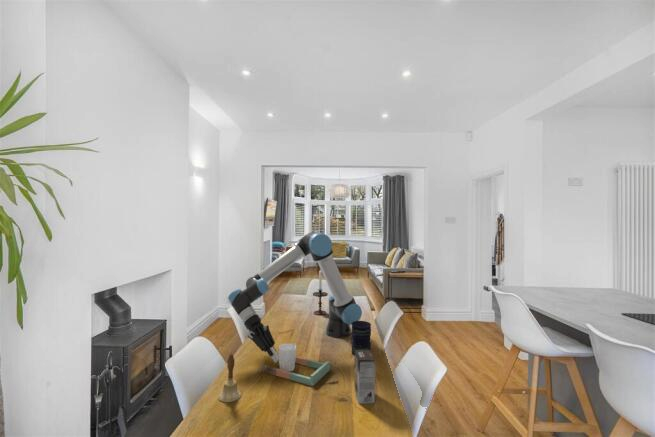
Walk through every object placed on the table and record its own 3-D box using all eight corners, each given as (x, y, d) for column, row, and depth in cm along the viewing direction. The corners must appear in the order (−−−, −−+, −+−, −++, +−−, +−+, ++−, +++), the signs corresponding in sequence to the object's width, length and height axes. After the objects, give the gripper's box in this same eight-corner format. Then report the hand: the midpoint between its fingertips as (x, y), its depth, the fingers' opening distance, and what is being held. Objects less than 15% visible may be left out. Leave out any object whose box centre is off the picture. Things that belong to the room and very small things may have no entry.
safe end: (289, 379, 131) (289, 370, 131) (308, 364, 145) (308, 356, 145) (312, 386, 126) (312, 376, 126) (329, 370, 140) (329, 361, 140)
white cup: (281, 374, 135) (282, 351, 135) (275, 366, 142) (276, 344, 142) (298, 370, 139) (298, 348, 139) (291, 363, 146) (292, 342, 146)
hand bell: (242, 389, 123) (242, 349, 123) (240, 401, 115) (240, 358, 115) (220, 391, 121) (220, 350, 122) (216, 403, 113) (217, 359, 113)
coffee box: (353, 390, 123) (354, 349, 123) (369, 390, 123) (370, 349, 124) (358, 404, 114) (358, 359, 114) (375, 403, 114) (375, 359, 115)
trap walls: (276, 375, 134) (276, 369, 134) (295, 361, 148) (295, 356, 148) (289, 379, 131) (289, 373, 131) (308, 364, 145) (308, 359, 145)
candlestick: (325, 316, 219) (326, 266, 220) (310, 315, 222) (311, 265, 222) (328, 311, 230) (329, 264, 230) (314, 310, 232) (315, 263, 233)
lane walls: (261, 371, 138) (261, 365, 138) (281, 358, 152) (281, 352, 152) (276, 375, 134) (276, 369, 134) (295, 361, 148) (295, 356, 148)
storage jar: (359, 347, 165) (360, 319, 165) (374, 353, 158) (375, 323, 158) (347, 353, 158) (347, 323, 158) (362, 359, 151) (362, 328, 151)
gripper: (254, 319, 157) (281, 359, 149) (236, 327, 145) (263, 371, 137) (263, 310, 154) (290, 351, 147) (245, 317, 143) (273, 362, 135)
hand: (277, 360), depth 142 cm, fingers closed
